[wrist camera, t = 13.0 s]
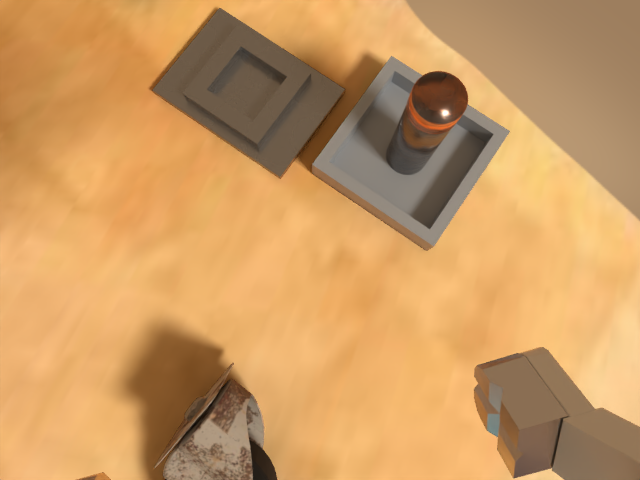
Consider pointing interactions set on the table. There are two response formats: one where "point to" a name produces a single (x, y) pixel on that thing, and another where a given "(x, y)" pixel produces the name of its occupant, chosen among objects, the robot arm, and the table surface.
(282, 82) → the collar plate
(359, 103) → the tray
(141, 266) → the table surface
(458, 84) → the pin
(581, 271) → the table surface
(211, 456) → the caster wheel
